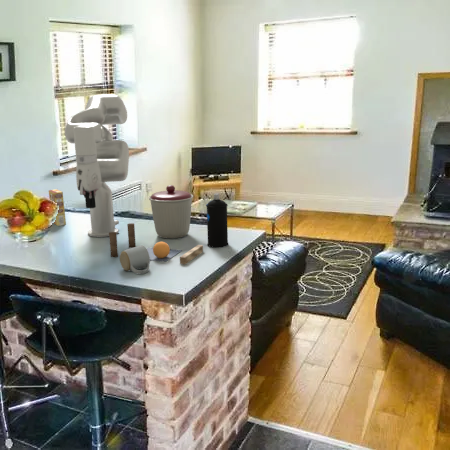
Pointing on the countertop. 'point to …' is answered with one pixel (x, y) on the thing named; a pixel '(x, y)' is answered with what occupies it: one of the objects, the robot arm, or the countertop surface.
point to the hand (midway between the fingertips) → (90, 207)
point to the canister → (171, 212)
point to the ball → (161, 249)
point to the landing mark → (154, 258)
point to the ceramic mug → (135, 259)
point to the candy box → (58, 198)
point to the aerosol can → (217, 223)
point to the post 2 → (131, 235)
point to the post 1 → (113, 244)
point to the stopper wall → (191, 254)
